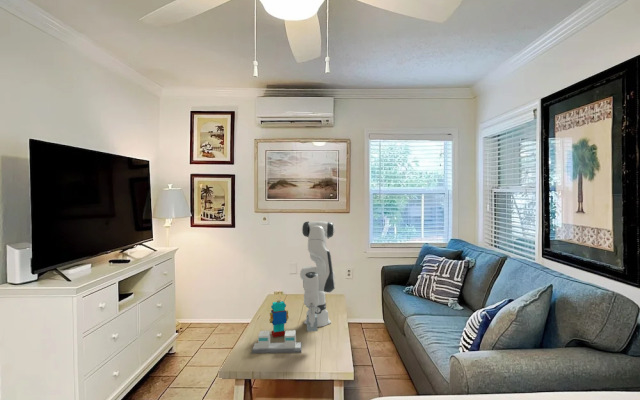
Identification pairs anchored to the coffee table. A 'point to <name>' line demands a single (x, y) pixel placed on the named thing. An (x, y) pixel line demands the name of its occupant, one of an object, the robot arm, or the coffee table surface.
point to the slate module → (313, 326)
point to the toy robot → (278, 318)
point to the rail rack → (268, 347)
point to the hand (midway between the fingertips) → (312, 324)
